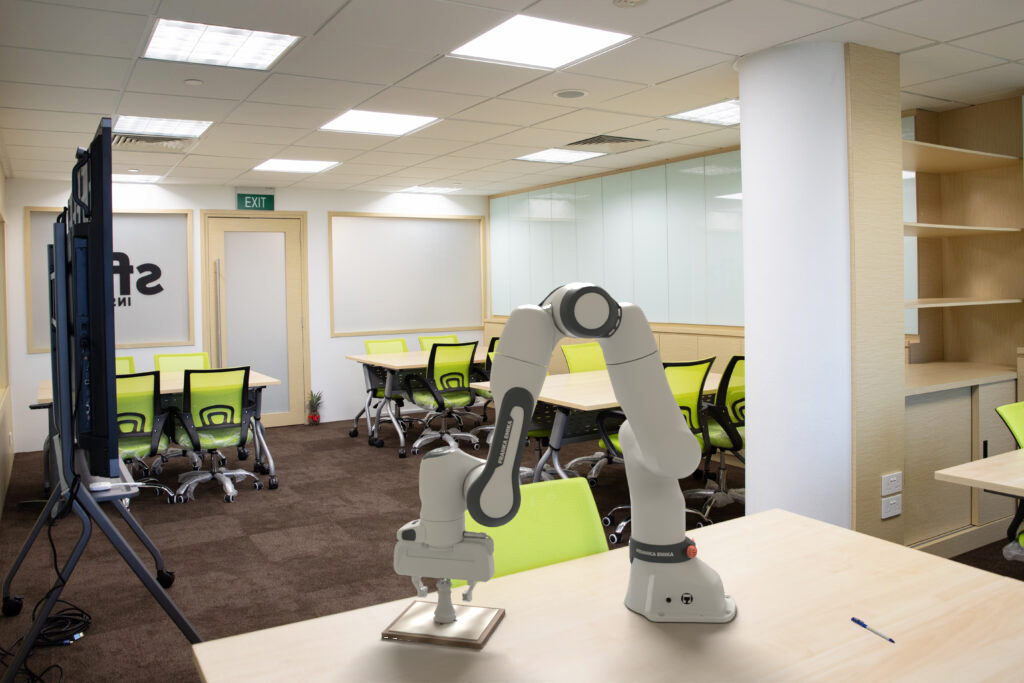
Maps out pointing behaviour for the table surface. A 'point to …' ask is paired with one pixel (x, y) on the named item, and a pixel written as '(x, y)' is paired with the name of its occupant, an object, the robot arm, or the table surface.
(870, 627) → the ballpoint pen
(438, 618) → the rook chess piece
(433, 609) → the brown-bordered mat
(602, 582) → the table surface
